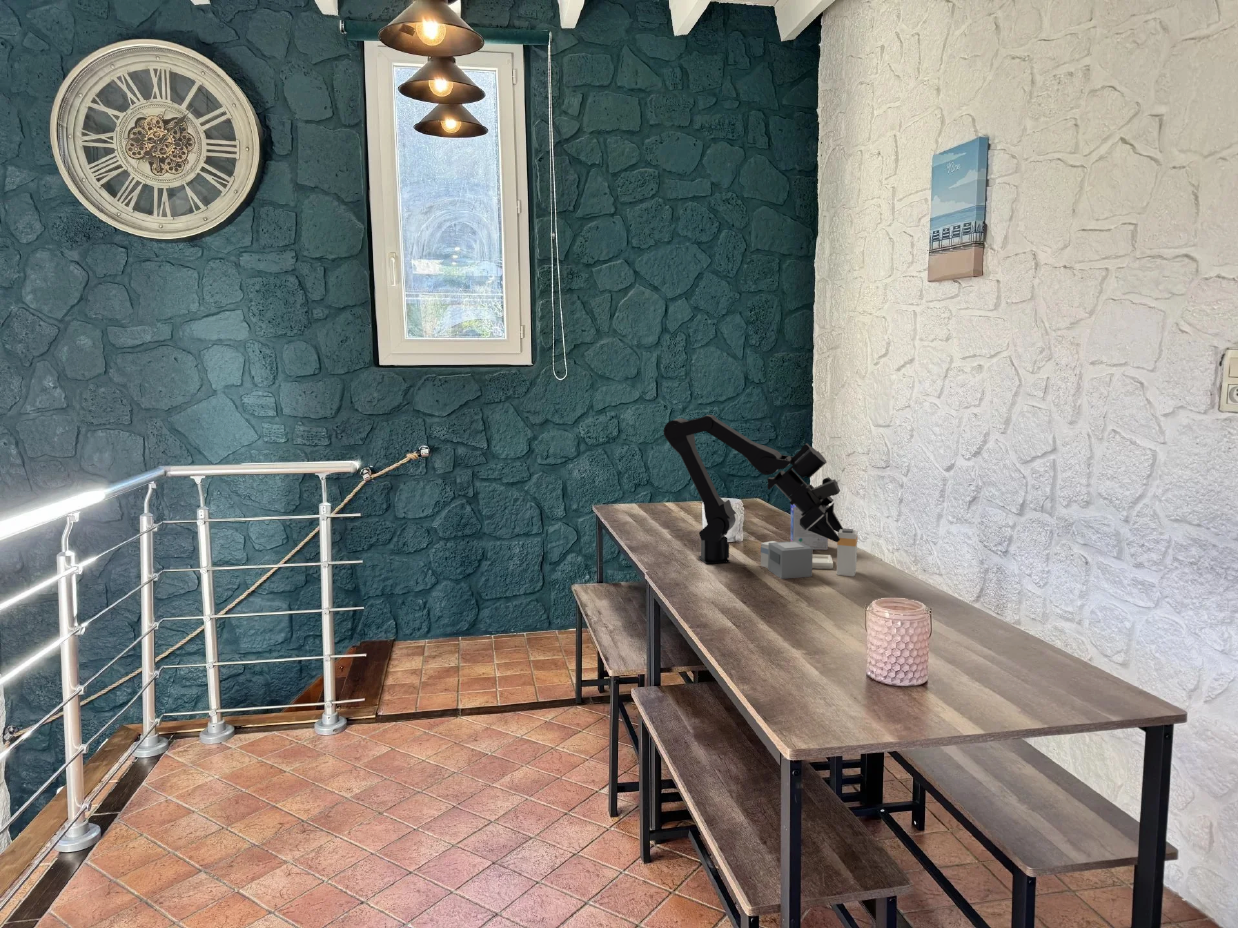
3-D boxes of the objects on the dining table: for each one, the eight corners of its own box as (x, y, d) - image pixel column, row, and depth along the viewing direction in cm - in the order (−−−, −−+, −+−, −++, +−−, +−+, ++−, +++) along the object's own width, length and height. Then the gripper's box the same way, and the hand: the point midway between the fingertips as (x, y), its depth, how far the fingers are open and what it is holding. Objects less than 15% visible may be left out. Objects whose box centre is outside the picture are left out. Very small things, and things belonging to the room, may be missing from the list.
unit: (780, 578, 197) (781, 550, 196) (767, 570, 205) (768, 542, 204) (812, 576, 199) (813, 547, 198) (798, 567, 207) (798, 540, 206)
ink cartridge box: (824, 545, 229) (825, 494, 227) (828, 550, 224) (830, 498, 222) (789, 545, 230) (790, 494, 227) (792, 550, 224) (794, 498, 222)
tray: (800, 567, 207) (800, 561, 207) (798, 559, 215) (798, 553, 214) (833, 568, 205) (833, 563, 205) (830, 560, 213) (830, 554, 213)
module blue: (772, 569, 205) (772, 546, 205) (760, 565, 209) (760, 543, 208) (784, 566, 208) (785, 544, 207) (772, 563, 211) (773, 540, 210)
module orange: (836, 574, 200) (837, 530, 199) (838, 570, 204) (839, 527, 203) (854, 576, 199) (856, 532, 197) (856, 571, 203) (857, 528, 201)
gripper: (814, 474, 192) (861, 523, 189) (825, 463, 209) (869, 508, 207) (780, 505, 196) (826, 553, 193) (794, 492, 213) (836, 536, 211)
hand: (840, 536), depth 201 cm, fingers open, 9 cm apart
